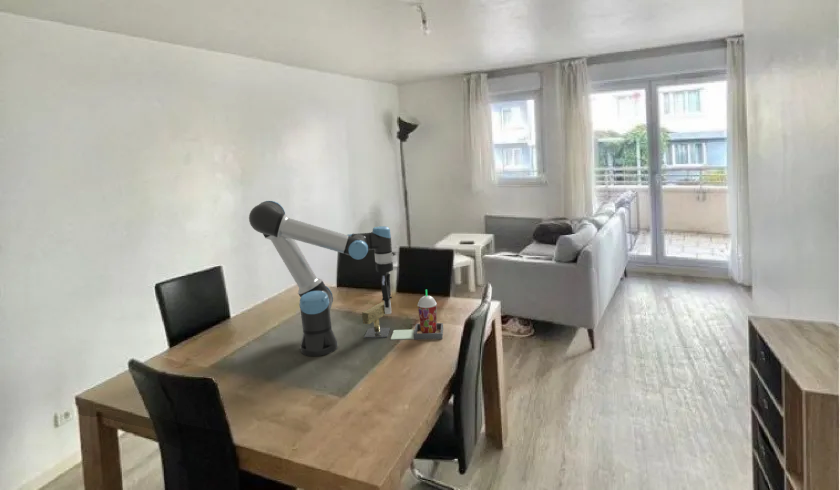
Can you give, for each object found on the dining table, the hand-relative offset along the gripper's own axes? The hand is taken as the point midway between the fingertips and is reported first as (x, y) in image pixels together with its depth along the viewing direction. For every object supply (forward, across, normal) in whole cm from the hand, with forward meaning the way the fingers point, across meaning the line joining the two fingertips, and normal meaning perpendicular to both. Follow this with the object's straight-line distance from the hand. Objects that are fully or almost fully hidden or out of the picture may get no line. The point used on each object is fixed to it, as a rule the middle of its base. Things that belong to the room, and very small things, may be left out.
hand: (388, 313), depth 221 cm
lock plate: (+8, -3, +5) cm, 10 cm away
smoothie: (+8, -5, -18) cm, 21 cm away
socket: (+8, -5, -18) cm, 20 cm away
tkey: (+7, -3, +5) cm, 9 cm away
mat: (+8, -6, -7) cm, 12 cm away
